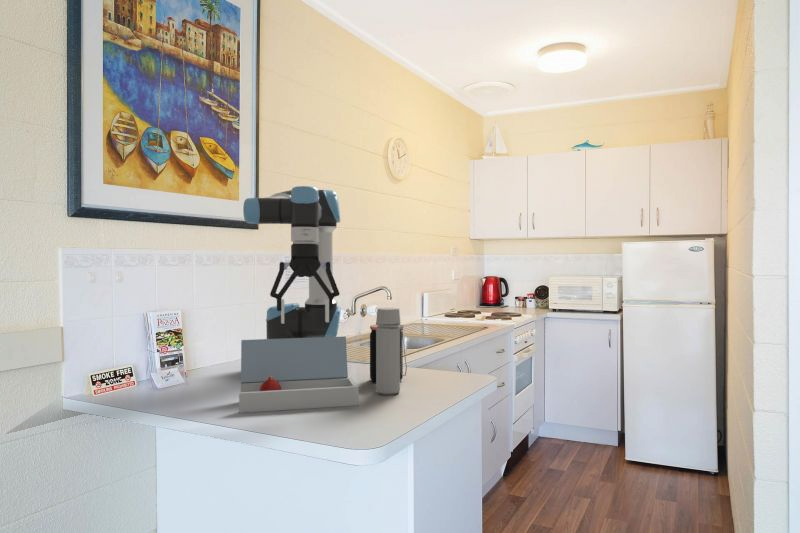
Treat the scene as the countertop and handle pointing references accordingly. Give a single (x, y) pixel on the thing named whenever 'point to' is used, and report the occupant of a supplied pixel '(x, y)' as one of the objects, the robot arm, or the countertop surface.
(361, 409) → the countertop surface
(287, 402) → the grey tray
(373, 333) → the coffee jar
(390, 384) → the water bottle
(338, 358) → the cover
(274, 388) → the onion
